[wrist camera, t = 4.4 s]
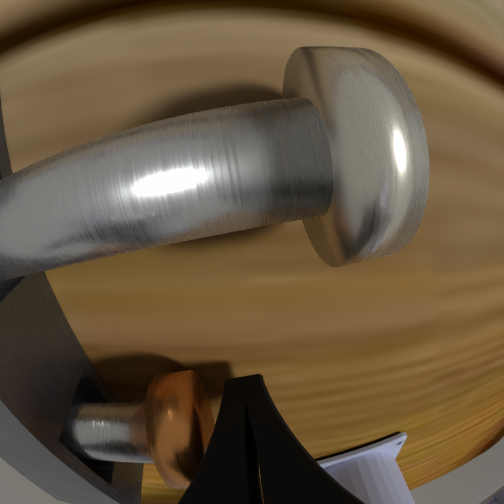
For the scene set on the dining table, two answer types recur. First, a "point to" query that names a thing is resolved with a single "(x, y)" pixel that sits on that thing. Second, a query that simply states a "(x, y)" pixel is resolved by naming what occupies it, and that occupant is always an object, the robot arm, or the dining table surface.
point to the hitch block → (50, 393)
